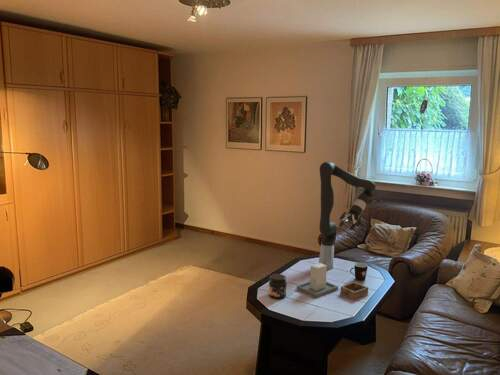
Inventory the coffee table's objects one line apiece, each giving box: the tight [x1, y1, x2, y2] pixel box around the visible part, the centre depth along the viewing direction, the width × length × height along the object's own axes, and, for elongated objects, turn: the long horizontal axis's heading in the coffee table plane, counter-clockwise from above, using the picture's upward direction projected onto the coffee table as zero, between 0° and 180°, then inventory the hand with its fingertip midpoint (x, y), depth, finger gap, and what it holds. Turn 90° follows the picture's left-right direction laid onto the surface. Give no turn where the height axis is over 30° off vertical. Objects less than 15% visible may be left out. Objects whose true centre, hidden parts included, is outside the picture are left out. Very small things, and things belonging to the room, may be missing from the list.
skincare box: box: [310, 262, 328, 291], centre depth 250 cm, size 8×6×15 cm
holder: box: [340, 281, 369, 300], centre depth 245 cm, size 11×13×4 cm
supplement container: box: [268, 273, 288, 300], centre depth 240 cm, size 10×10×12 cm
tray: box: [296, 281, 339, 299], centre depth 251 cm, size 16×20×2 cm
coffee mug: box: [349, 262, 369, 282], centre depth 268 cm, size 12×9×10 cm
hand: (345, 228), depth 256 cm, fingers open, 8 cm apart
